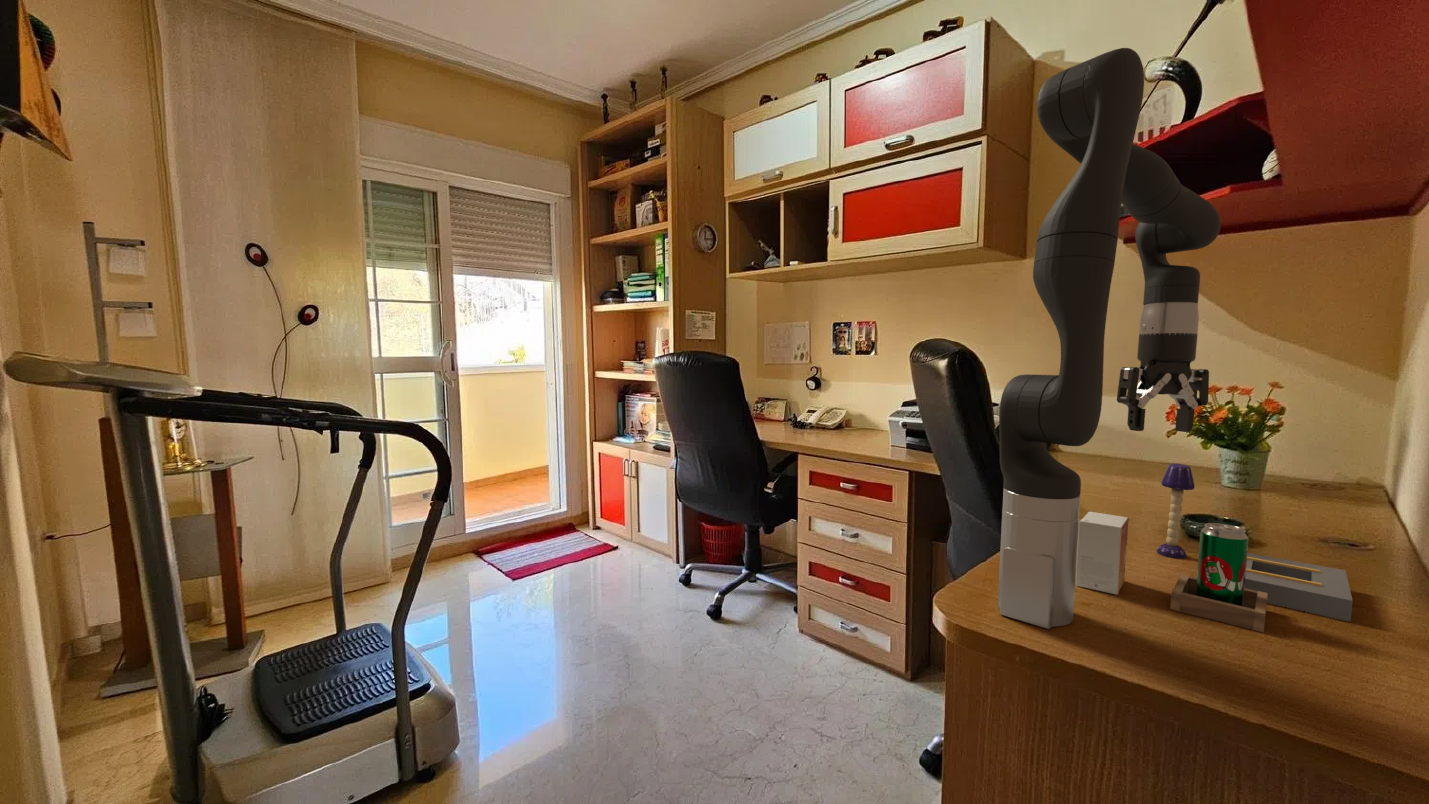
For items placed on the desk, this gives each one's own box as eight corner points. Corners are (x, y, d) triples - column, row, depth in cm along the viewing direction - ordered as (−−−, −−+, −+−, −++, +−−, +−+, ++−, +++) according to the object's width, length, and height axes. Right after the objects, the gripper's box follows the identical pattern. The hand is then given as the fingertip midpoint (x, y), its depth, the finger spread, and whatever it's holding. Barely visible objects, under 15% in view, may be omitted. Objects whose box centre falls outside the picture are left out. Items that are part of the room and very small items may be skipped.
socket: (1350, 622, 78) (1352, 598, 77) (1214, 591, 88) (1216, 570, 87) (1343, 589, 89) (1345, 568, 89) (1223, 565, 99) (1225, 546, 99)
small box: (1117, 596, 86) (1122, 527, 85) (1074, 586, 89) (1078, 520, 89) (1125, 581, 92) (1129, 516, 91) (1084, 572, 95) (1088, 510, 95)
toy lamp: (1195, 558, 102) (1202, 466, 101) (1177, 561, 101) (1184, 467, 99) (1166, 549, 107) (1173, 461, 105) (1149, 552, 105) (1155, 462, 104)
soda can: (1223, 602, 84) (1229, 522, 83) (1252, 618, 79) (1259, 533, 78) (1186, 601, 84) (1192, 521, 83) (1212, 616, 79) (1219, 532, 78)
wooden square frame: (1263, 632, 75) (1265, 614, 74) (1170, 609, 81) (1171, 592, 81) (1266, 610, 81) (1267, 592, 81) (1179, 590, 88) (1180, 574, 88)
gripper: (1147, 329, 89) (1139, 433, 90) (1229, 332, 90) (1220, 434, 91) (1109, 332, 96) (1102, 428, 97) (1185, 334, 98) (1178, 429, 99)
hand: (1159, 431), depth 94 cm, fingers open, 8 cm apart
